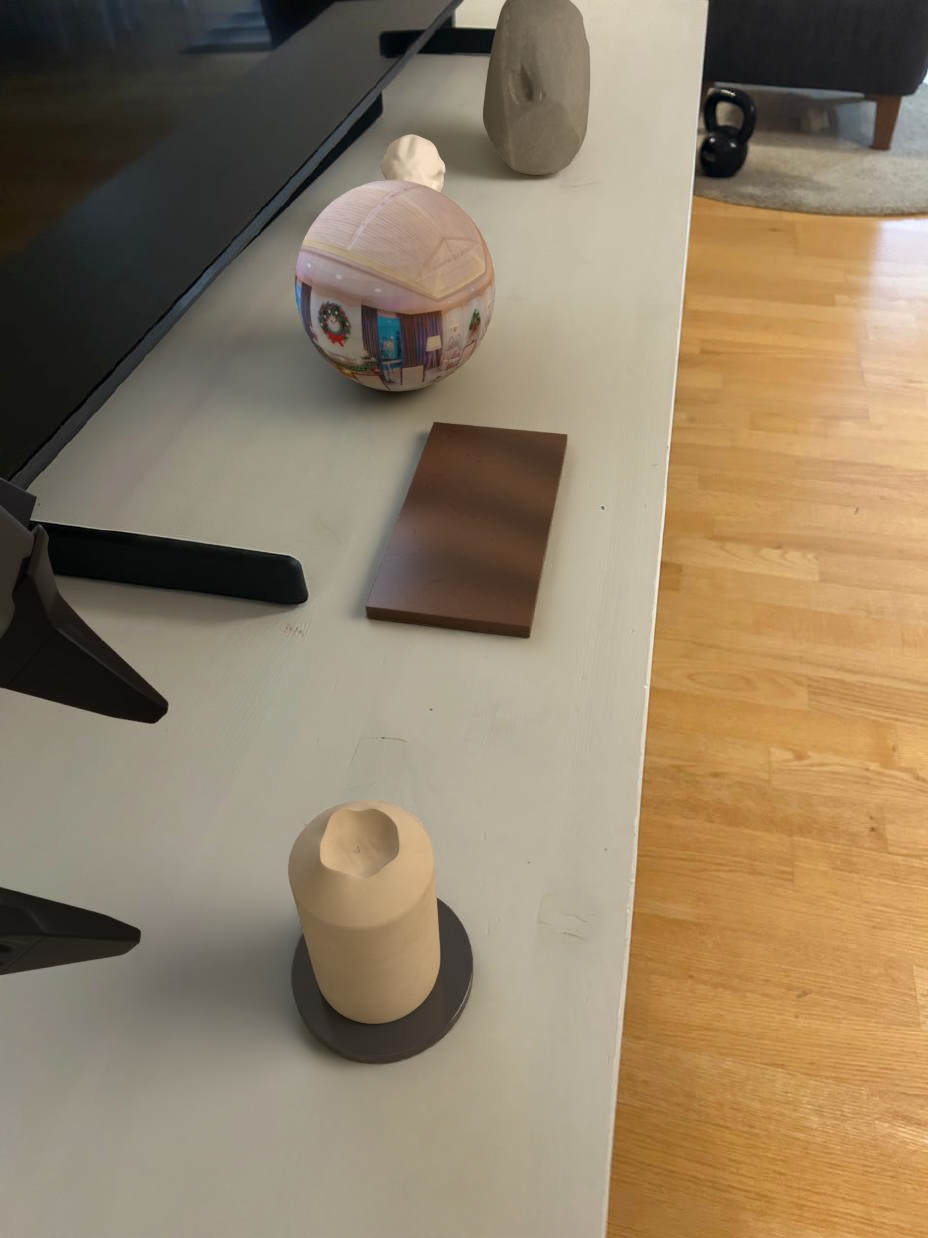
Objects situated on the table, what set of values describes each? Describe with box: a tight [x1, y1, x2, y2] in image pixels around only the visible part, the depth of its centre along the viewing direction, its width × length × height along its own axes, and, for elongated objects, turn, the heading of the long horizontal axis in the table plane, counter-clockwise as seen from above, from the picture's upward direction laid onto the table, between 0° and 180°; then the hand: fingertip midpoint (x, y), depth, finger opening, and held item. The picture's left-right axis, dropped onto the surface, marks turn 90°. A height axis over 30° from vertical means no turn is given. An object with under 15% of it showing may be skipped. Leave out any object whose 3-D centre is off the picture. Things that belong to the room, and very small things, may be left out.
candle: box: [287, 799, 440, 1024], centre depth 39 cm, size 6×6×10 cm
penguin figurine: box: [379, 133, 446, 193], centre depth 94 cm, size 6×8×12 cm
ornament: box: [294, 179, 496, 392], centre depth 74 cm, size 15×15×15 cm
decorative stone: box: [482, 0, 591, 176], centre depth 107 cm, size 12×17×15 cm
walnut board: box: [365, 421, 569, 639], centre depth 65 cm, size 20×10×1 cm, turn 169°
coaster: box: [290, 897, 474, 1064], centre depth 43 cm, size 8×8×1 cm
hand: (149, 817), depth 33 cm, fingers open, 9 cm apart
